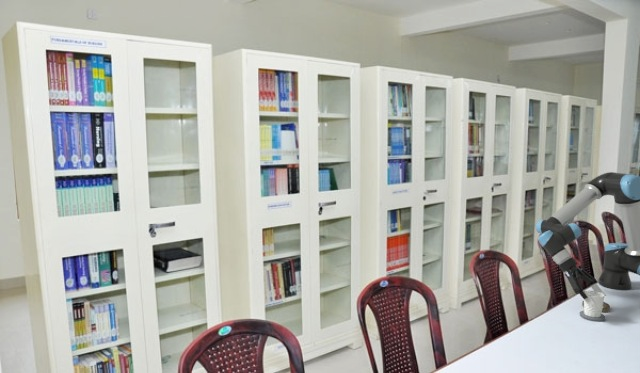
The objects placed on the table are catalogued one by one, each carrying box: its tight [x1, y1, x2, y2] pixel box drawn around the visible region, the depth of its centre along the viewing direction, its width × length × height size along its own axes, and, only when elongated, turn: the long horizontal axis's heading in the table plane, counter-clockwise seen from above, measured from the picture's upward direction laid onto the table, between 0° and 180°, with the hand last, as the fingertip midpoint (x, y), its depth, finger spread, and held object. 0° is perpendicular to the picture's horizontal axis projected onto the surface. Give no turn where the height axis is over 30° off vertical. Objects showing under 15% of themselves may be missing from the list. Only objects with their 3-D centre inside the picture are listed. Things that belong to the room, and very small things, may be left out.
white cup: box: [583, 290, 605, 318], centre depth 212 cm, size 8×8×10 cm
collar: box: [581, 300, 611, 313], centre depth 223 cm, size 11×11×2 cm
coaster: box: [579, 310, 606, 322], centre depth 213 cm, size 10×10×1 cm
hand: (597, 300), depth 210 cm, fingers open, 13 cm apart
